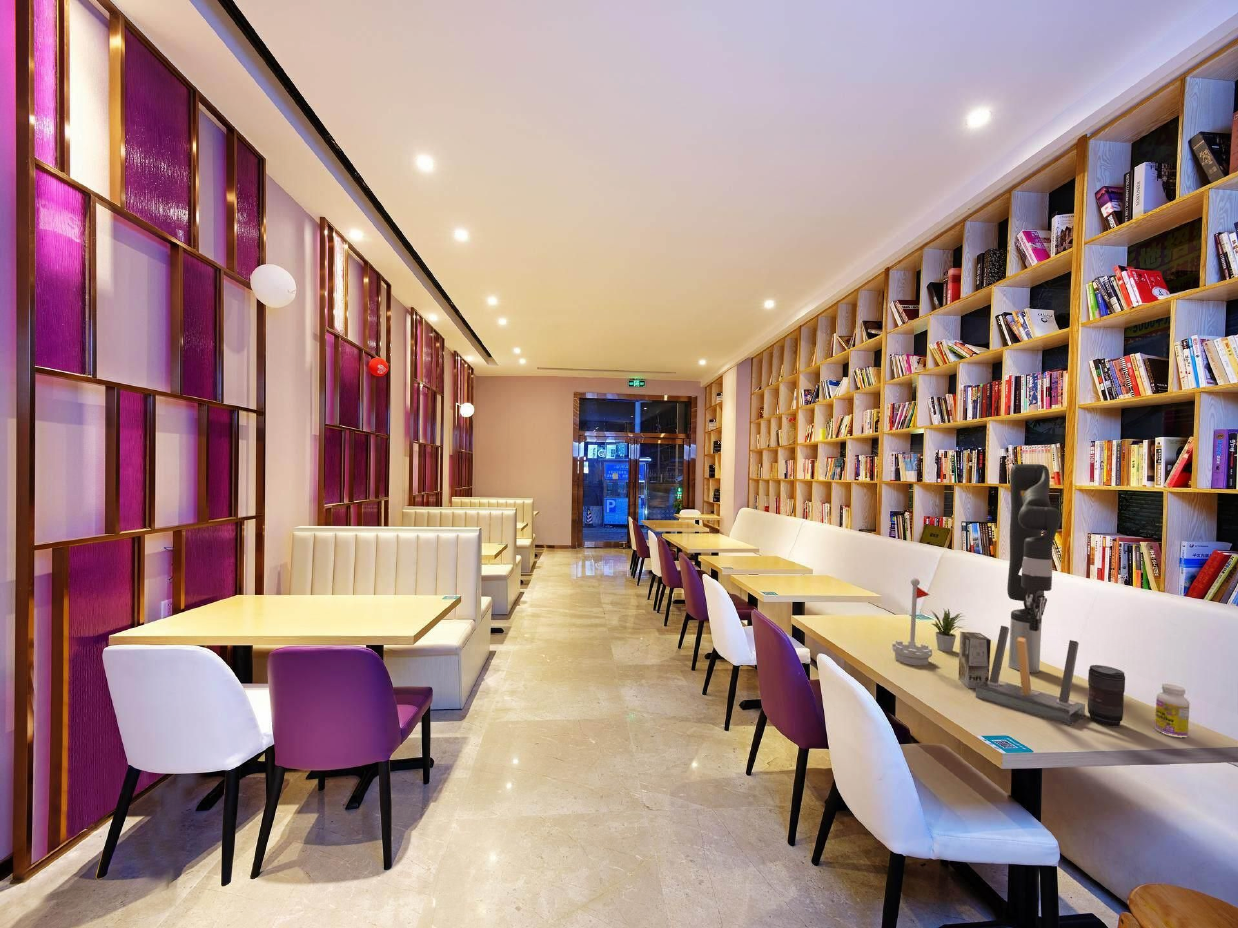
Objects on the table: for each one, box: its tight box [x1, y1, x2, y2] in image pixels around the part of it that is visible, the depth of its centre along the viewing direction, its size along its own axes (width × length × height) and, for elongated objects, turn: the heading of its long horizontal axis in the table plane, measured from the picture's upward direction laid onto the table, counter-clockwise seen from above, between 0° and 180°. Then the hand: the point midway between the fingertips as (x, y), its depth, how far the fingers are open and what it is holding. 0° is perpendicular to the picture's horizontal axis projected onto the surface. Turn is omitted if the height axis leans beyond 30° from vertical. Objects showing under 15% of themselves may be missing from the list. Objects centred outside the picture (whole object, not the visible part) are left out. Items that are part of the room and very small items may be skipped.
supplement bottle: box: [1154, 683, 1190, 737], centre depth 165 cm, size 7×7×13 cm
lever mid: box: [1017, 637, 1033, 697], centre depth 177 cm, size 2×3×19 cm, turn 38°
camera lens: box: [1087, 664, 1126, 728], centre depth 171 cm, size 8×8×15 cm
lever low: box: [987, 625, 1010, 688], centre depth 189 cm, size 2×3×19 cm, turn 40°
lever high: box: [1057, 639, 1079, 708], centre depth 175 cm, size 2×3×19 cm, turn 40°
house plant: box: [929, 608, 964, 653], centre depth 236 cm, size 14×14×16 cm
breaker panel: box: [975, 680, 1086, 726], centre depth 181 cm, size 14×24×4 cm, turn 39°
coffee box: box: [958, 631, 992, 690], centre depth 197 cm, size 9×6×16 cm
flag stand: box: [891, 577, 933, 666], centre depth 221 cm, size 13×13×30 cm
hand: (1034, 630), depth 182 cm, fingers closed
